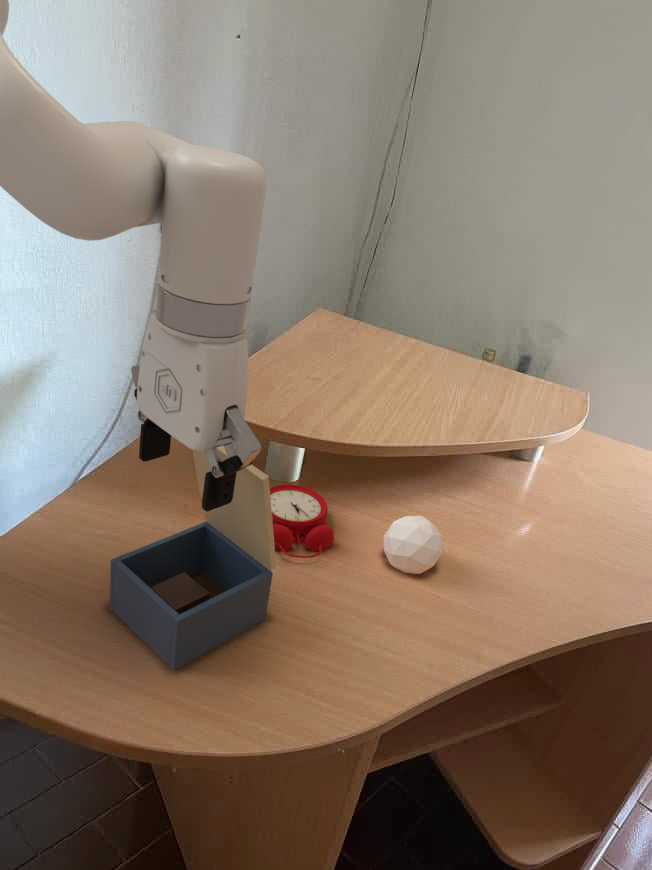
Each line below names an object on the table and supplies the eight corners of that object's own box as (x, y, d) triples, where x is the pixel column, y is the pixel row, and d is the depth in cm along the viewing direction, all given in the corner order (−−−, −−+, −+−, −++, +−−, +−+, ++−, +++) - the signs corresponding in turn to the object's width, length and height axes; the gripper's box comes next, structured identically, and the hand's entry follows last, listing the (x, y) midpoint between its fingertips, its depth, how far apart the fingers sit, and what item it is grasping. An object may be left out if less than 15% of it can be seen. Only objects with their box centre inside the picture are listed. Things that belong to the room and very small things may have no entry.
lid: (262, 480, 66) (269, 476, 66) (188, 428, 71) (194, 425, 72) (270, 571, 75) (276, 567, 75) (204, 519, 80) (209, 516, 81)
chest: (173, 677, 70) (178, 621, 66) (109, 614, 76) (110, 559, 72) (264, 625, 79) (273, 572, 75) (201, 572, 85) (206, 520, 81)
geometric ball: (397, 572, 97) (413, 517, 98) (444, 586, 91) (460, 527, 92) (363, 561, 91) (381, 503, 92) (411, 575, 86) (429, 513, 87)
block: (148, 618, 76) (150, 587, 73) (182, 601, 79) (184, 571, 76) (173, 641, 73) (175, 610, 71) (206, 623, 77) (210, 593, 74)
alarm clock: (321, 481, 101) (349, 521, 88) (316, 520, 103) (342, 566, 89) (250, 478, 98) (267, 519, 84) (246, 519, 100) (262, 566, 86)
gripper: (104, 277, 60) (98, 448, 68) (235, 357, 51) (210, 540, 60) (176, 273, 65) (163, 432, 74) (306, 344, 57) (273, 514, 65)
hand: (184, 480), depth 67 cm, fingers open, 9 cm apart
